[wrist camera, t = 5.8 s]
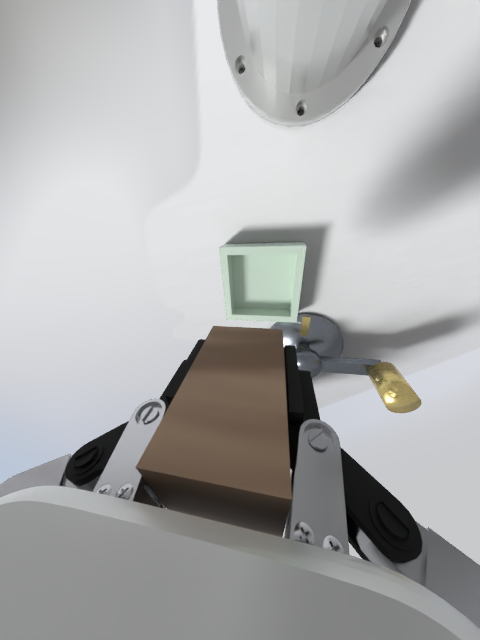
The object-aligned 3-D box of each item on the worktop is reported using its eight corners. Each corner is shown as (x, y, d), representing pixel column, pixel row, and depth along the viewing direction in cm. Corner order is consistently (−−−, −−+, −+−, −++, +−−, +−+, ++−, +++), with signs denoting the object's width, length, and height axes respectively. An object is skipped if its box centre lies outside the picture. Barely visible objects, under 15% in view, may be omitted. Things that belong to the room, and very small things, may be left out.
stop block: (213, 325, 11) (135, 467, 5) (282, 329, 10) (291, 499, 4) (220, 374, 13) (171, 515, 7) (278, 379, 12) (280, 542, 6)
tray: (224, 243, 22) (219, 247, 20) (303, 241, 20) (306, 245, 18) (230, 310, 26) (226, 319, 24) (294, 313, 25) (296, 322, 23)
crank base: (265, 312, 25) (264, 322, 23) (350, 315, 24) (358, 326, 21) (263, 368, 31) (262, 381, 29) (333, 375, 29) (337, 389, 27)
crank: (287, 368, 26) (290, 403, 21) (290, 347, 24) (293, 379, 19) (385, 377, 24) (411, 417, 19) (397, 354, 22) (429, 392, 17)
